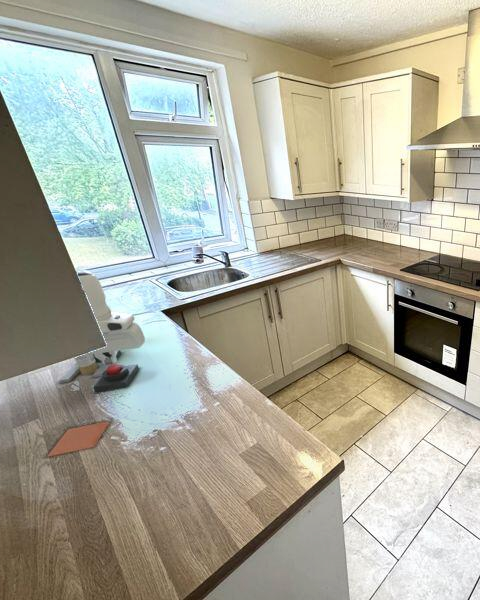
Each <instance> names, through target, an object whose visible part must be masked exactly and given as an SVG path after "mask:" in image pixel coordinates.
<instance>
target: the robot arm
mask: <svg viewBox="0 0 480 600" xmlns="http://www.w3.org/2000/svg"><path fill="white" fill-rule="evenodd" d="M75 269H76V270H77V273H78V276H79V278H80V281H81V284H82V286H83V289H84V291H85V293H86V295H87V297H88V300H89V302H90V304H91V307H92V309H93V312H94V315H95V317H96V319H97V321H98V324H99V326H100V329H101V331H102V333H103V336H104V338H105V341H106V343H107V347H105V348H102V349H99V350H96V351H93V352H90V353H87V354H85V355H90V354H94V356H95V357H96V358H98V359H99V360H101V361H102V362H101V363H102V364H103V365H107V364H113V365H115V364H117V362H118V358H117V359H116V355H117V352H118V351H119V350H120V351H126V350H133V349H140V348H141V347H142V346H143V345H144V344H145V343H146V337H145V335H144V332H143V330H142V328H141V326H140V325H139V324H138V323H136V322H135V316H134V314H131V313H124V312H118V311H117V312H116V311H112V309H111V307H110V306H109V305H108V304H107V300H106V299H107V296H106V293H105V291H104V288H103V286H102V284H101V282H100V280H99V278H98V277H97V275H95V273H94V272H92V271H89V270H87V269H79V268H75ZM105 352H109V354H110V355H111V354H112V356H111V357H106V356H105V355H103V354H102V353H105ZM82 356H83V355H82Z"/></svg>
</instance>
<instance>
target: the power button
mask: <svg viewBox="0 0 480 600" xmlns="http://www.w3.org/2000/svg"><path fill="white" fill-rule="evenodd" d="M120 365H121V364H119V363H114V364H113V365H111V366H109V367H108V368H107V372H108V374H109V375H111V374H115V373H118V372H120V371H121V367H120Z"/></svg>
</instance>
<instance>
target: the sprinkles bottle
mask: <svg viewBox="0 0 480 600" xmlns="http://www.w3.org/2000/svg"><path fill="white" fill-rule="evenodd" d="M73 359H74V362H75V364H77V366H78V367H79V369H80V374H81V375H84V376H85V375H90V374H94V373H95V372H96V371H97V369H98V368H99V367H100V366H98V364H97V363H96V361H95V358H94V356H93V354H90V355H83V356H79V357H77V358H74V357H73Z"/></svg>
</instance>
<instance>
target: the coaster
mask: <svg viewBox="0 0 480 600" xmlns="http://www.w3.org/2000/svg"><path fill="white" fill-rule="evenodd" d="M110 423H111V420H109V421H104V422H97V423H92V424H88V425H83V426H82V425H81V426H77V427H72V428H68V429H67V430H66V432H65V433H64V434H63V435H62V436H61V438H60V439H58V441H57V443H56V444H55V446H54V447H53V448H52V449H51V451H50V452H49V453H48V455H47V456H46V457H47V458H49V457H53V456H59V455H63V454H67V453H72V452H78V451H82V450H86V449H87V450H88V449H92V448H95V446H96V445H97V443H98V442H99V440H100V438H101V437H102V436H103V434H104V432H105V431H106V429H107V427H108V426H109V425H110Z"/></svg>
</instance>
